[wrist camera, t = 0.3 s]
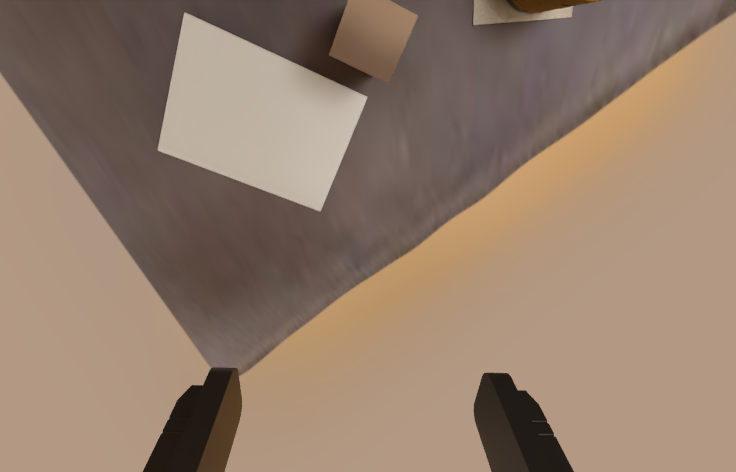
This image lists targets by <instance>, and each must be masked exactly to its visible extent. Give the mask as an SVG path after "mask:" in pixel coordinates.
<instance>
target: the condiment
mask: <svg viewBox="0 0 736 472" xmlns="http://www.w3.org/2000/svg"><path fill="white" fill-rule="evenodd" d="M595 1H601V0H474V16H473V25H482V24H494V23H507V22H520V21H533V20H545V19H558V18H570V17H572V11H573V6H575V5H580V4H587V3H591V2H595Z"/></svg>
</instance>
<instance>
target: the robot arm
mask: <svg viewBox="0 0 736 472" xmlns="http://www.w3.org/2000/svg"><path fill="white" fill-rule="evenodd" d="M241 409H242V397H241V390H240V382H239V375H238V369H237V368H211V370H210V372H209V373H208V376H207V378H206V380H205V383H204V385H203V386H202V385H201V386H199V385H196V386H195V385H192V386H191V387H190V388H189V389H188V390H187V391H186V392H185V393H184V394H183V395H182V396H181V397H180V398H179V399H178V400H177V402H176V404H175V407H174V409H173V411H172V413H171V415H170V419H169V420H168V421H167V423H166V425H165V427H164V429H163V433H162V434H161V436H160V438H159V439H158V441H157V444H156V446H155V448H154V450H153V452H152V454H151V456H150V458H149V460H148V462H147V464H146V466H145V468H144V471H143V472H224V471H225V468H226V464H227V461H228V458H229V454H230V451H231V448H232V444H233V441H234V437H235V434H236V431H237V427H238V424H239V420H240V416H241ZM474 417H475V422H476V426H477V428H478V432H479V434H480V438H481V441H482V444H483V447H484V450H485V452H486V456H487V459H488V462H489V465H490V468H491V471H492V472H574V471H573V469H572V467H571V465H570V464H569V462H568V460H567V458H566V456H565V454H564V452H563V450H562V448H561V447H560V444H559V443H558V441H557V439H556V437H554V433H553V431H552V429H551V427H550V425H549V424H548V423H547V419H546V417H545V416H544V414H543V412H542V410H541V408H540V406H539V404H538V403H537V402H536V401H535V400H534V399H533V398H532V397H531V396H530V395H529V394H528V393H527V392H526V391H518V390H517V388H516V386H515V385H514V382H513V380H512V378H511V376H510V375H509V374H507V373H484V374H483V376H482V379H481V382H480V386H479V389H478V393H477V396H476V400H475V403H474Z"/></svg>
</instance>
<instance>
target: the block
mask: <svg viewBox="0 0 736 472" xmlns="http://www.w3.org/2000/svg"><path fill="white" fill-rule="evenodd" d="M417 18H418V15H416V14H414V13H412V12H410V11H409V10H407V9H405V8H403V7H401V6H399V5H397V4H396V3H394V2H392V1H390V0H348V2H347V5H346V7H345V10H344V13H343V16H342V19H341V22H340V24H339V27H338V30H337V33H336V36H335V39H334V41H333V44H332V47H331V50H330V53H329V56H331V57H334V58H336V59H338V60H340V61H342V62H344V63H346V64H348V65H350V66H352V67H354V68H357V69H359V70H361V71H363V72H365V73H367V74H369V75H371V76H373V77H375V78H377V79H380V80H382V81H384V82H386V83H388V84H389V83H390V80H391V78H392V76H393V73H394V71H395V69H396V66H397V64H398V62H399V59H400V57H401V55H402V52H403V50H404V48H405V45H406V43H407V41H408V39H409V36H410V34H411V32H412V29H413V27H414V25H415V22H416V20H417Z"/></svg>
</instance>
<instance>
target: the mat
mask: <svg viewBox="0 0 736 472" xmlns="http://www.w3.org/2000/svg"><path fill="white" fill-rule="evenodd" d="M366 100H367V96H365V95H363V94H361V93H359V92H357V91H354V90H352V89H350V88H348V87H346V86H344V85H341V84H339V83H337V82H335V81H333V80H331V79H329V78H326V77H324V76H322V75H320V74H318V73H316V72H313V71H311V70H309V69H307V68H305V67H303V66H300V65H298V64H296V63H294V62H292V61H290V60H288V59H285V58H283V57H281V56H279V55H277V54H275V53H272V52H270V51H268V50H266V49H264V48H262V47H259V46H257V45H255V44H253V43H251V42H249V41H247V40H244V39H242V38H240V37H238V36H236V35H234V34H231V33H229V32H227V31H225V30H223V29H221V28H218V27H216V26H214V25H212V24H210V23H208V22H206V21H203V20H201V19H199V18H197V17H195V16H193V15H190V14H188V13H185V12H184V17H183V22H182V27H181V32H180V38H179V43H178V48H177V53H176V58H175V63H174V68H173V74H172V79H171V84H170V89H169V94H168V99H167V104H166V110H165V115H164V120H163V125H162V130H161V135H160V141H159V146H158V151H160V152H163V153H166V154H168V155H171V156H174V157H176V158H179V159H182V160H184V161H187V162H190V163H192V164H195V165H198V166H200V167H203V168H206V169H208V170H211V171H214V172H216V173H219V174H222V175H224V176H227V177H230V178H232V179H235V180H238V181H240V182H243V183H246V184H248V185H251V186H254V187H256V188H259V189H262V190H264V191H267V192H270V193H272V194H275V195H278V196H280V197H283V198H286V199H288V200H291V201H294V202H296V203H299V204H302V205H304V206H307V207H310V208H312V209H315V210H318V211H320V212H321V209H322V207H323V204H324V202H325V199H326V197H327V195H328V192H329V190H330V187H331V185H332V182H333V180H334V178H335V175H336V173H337V170H338V168H339V165H340V163H341V161H342V158H343V156H344V153H345V151H346V148H347V146H348V144H349V141H350V139H351V136H352V134H353V131H354V129H355V127H356V124H357V122H358V119H359V117H360V114H361V112H362V110H363V107H364V105H365V102H366Z"/></svg>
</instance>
